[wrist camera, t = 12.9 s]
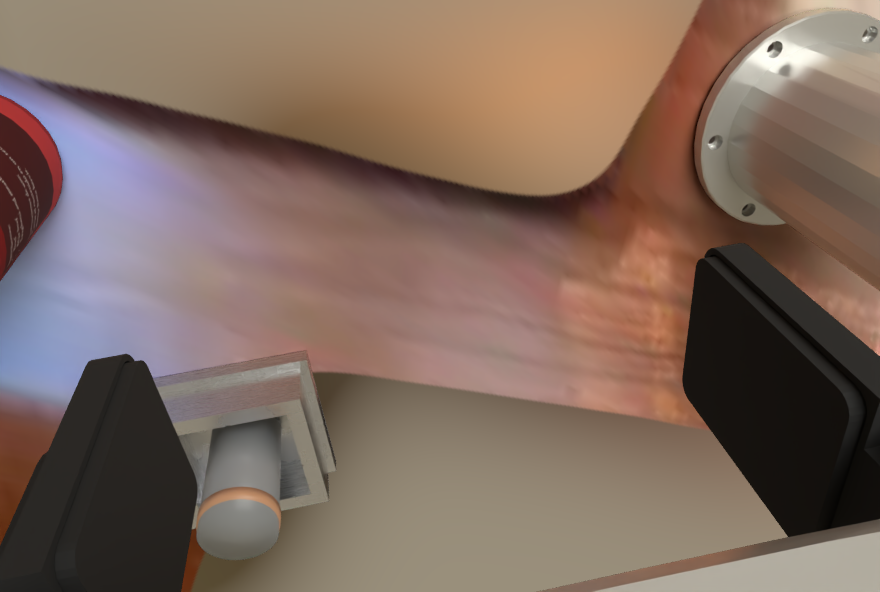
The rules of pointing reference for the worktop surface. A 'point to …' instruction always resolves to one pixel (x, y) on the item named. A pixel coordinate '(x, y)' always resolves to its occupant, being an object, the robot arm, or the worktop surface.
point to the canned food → (24, 179)
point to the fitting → (250, 399)
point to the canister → (241, 491)
